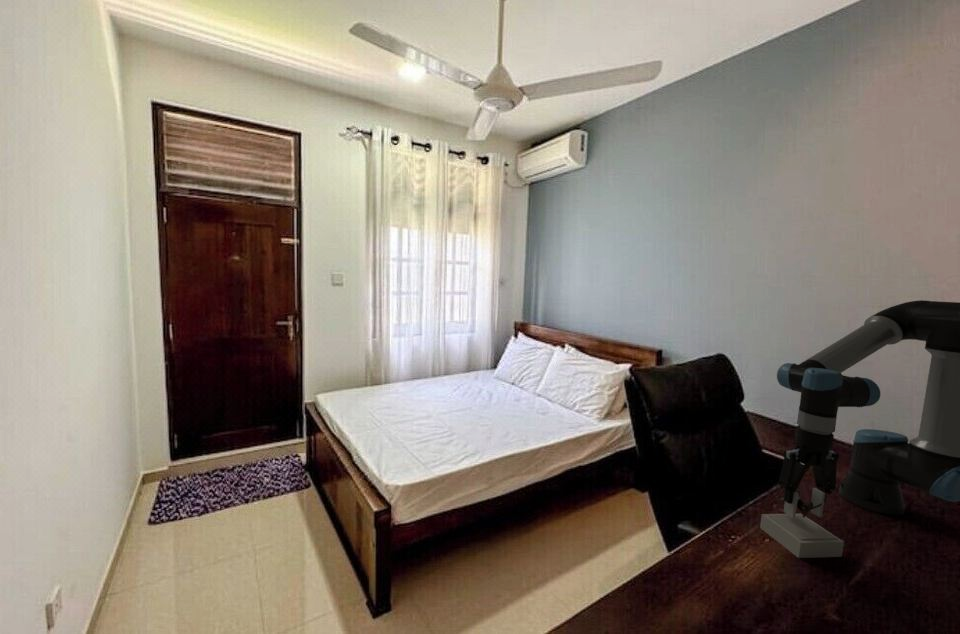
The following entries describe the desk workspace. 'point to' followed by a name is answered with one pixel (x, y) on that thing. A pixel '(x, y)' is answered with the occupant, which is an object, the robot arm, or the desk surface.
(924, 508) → the desk surface
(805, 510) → the eagle figurine
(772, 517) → the tray
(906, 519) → the desk surface
